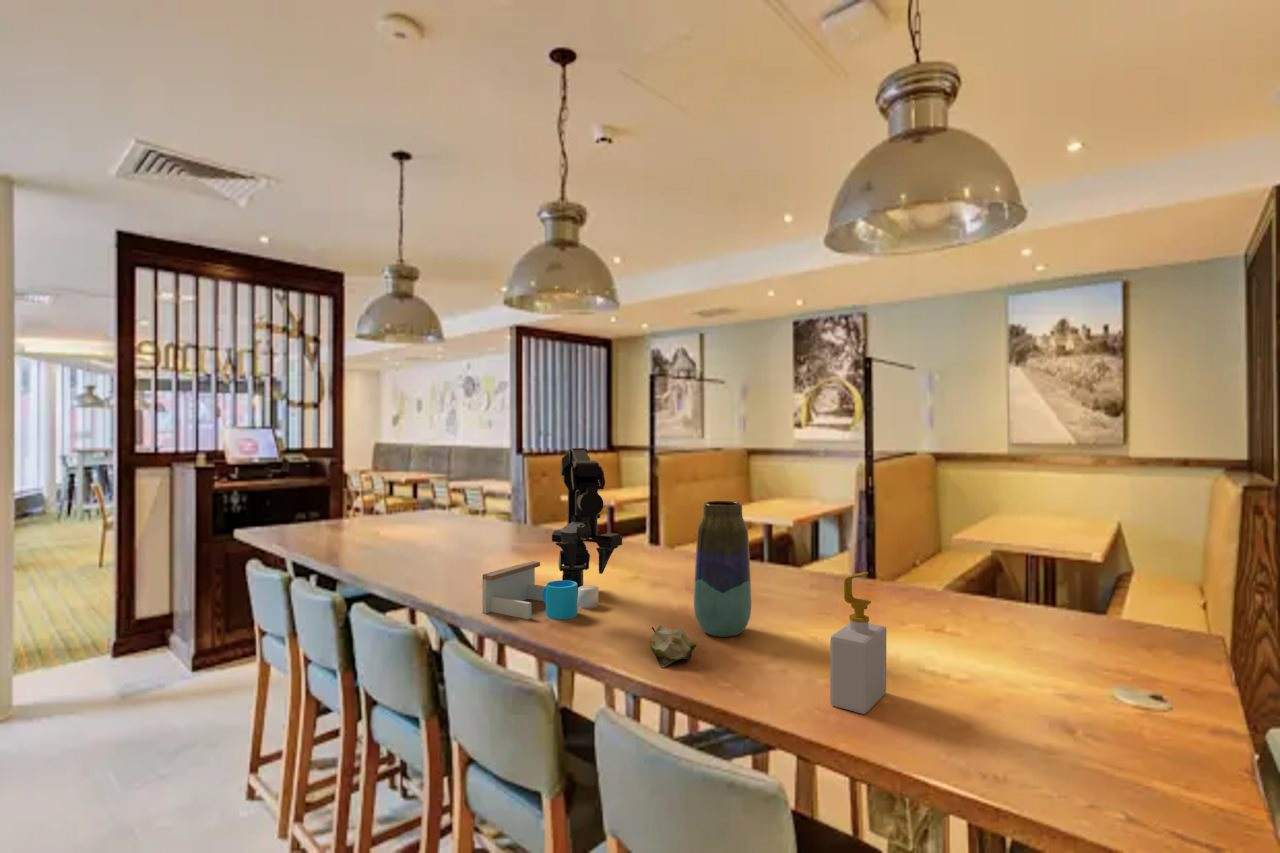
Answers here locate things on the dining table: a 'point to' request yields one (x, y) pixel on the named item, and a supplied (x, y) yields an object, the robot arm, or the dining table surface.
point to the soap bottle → (857, 658)
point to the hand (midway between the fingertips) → (586, 571)
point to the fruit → (671, 645)
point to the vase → (722, 570)
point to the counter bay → (511, 590)
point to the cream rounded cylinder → (588, 597)
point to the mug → (560, 599)
